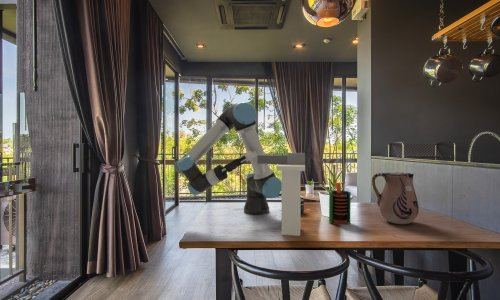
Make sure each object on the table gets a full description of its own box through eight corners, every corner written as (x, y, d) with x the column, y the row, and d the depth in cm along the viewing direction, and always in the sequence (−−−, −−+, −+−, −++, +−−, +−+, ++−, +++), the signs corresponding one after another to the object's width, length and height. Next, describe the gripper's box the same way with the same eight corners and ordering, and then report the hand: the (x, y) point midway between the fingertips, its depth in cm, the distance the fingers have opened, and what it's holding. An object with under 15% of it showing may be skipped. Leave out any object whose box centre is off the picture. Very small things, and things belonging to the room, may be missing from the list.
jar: (286, 210, 172) (286, 198, 172) (303, 210, 172) (303, 198, 172) (287, 214, 162) (287, 201, 162) (305, 214, 162) (305, 201, 162)
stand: (279, 225, 139) (279, 163, 139) (304, 226, 137) (304, 163, 137) (276, 236, 122) (276, 165, 122) (305, 237, 120) (305, 165, 120)
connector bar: (259, 163, 140) (258, 152, 140) (304, 163, 136) (304, 153, 136) (257, 163, 134) (257, 153, 134) (305, 164, 130) (305, 153, 130)
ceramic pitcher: (424, 228, 135) (424, 174, 135) (376, 225, 139) (376, 174, 139) (411, 219, 152) (411, 171, 152) (369, 217, 156) (369, 171, 156)
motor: (334, 225, 139) (334, 184, 139) (325, 221, 148) (325, 182, 147) (353, 224, 142) (353, 183, 142) (342, 219, 150) (342, 181, 150)
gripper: (227, 178, 152) (261, 159, 149) (213, 184, 127) (254, 160, 124) (220, 166, 153) (254, 146, 149) (205, 169, 128) (245, 146, 125)
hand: (254, 153), depth 137 cm, fingers open, 13 cm apart
